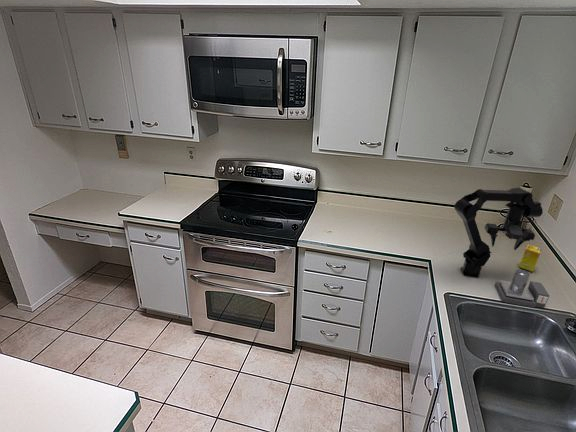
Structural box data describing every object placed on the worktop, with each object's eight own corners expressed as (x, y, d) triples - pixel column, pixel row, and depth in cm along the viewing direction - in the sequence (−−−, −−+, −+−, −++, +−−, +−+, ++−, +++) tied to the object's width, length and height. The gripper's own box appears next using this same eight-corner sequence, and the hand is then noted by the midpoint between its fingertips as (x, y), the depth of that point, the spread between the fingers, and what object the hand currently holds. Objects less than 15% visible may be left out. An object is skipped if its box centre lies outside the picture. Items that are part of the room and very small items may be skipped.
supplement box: (520, 263, 174) (527, 244, 170) (534, 268, 171) (542, 248, 166) (518, 268, 170) (525, 248, 166) (532, 273, 167) (540, 253, 162)
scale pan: (506, 295, 145) (506, 293, 145) (499, 281, 154) (500, 279, 154) (533, 300, 143) (534, 298, 143) (525, 286, 152) (525, 284, 151)
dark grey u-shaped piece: (502, 301, 146) (506, 289, 143) (494, 285, 156) (498, 273, 154) (545, 309, 142) (551, 297, 140) (534, 292, 153) (539, 280, 150)
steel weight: (511, 291, 146) (517, 274, 143) (508, 284, 151) (514, 268, 147) (525, 293, 145) (531, 277, 142) (521, 286, 150) (527, 270, 146)
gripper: (495, 221, 149) (485, 253, 156) (545, 228, 145) (532, 260, 152) (489, 211, 159) (479, 241, 165) (535, 217, 155) (523, 248, 161)
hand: (503, 247), depth 161 cm, fingers open, 9 cm apart
